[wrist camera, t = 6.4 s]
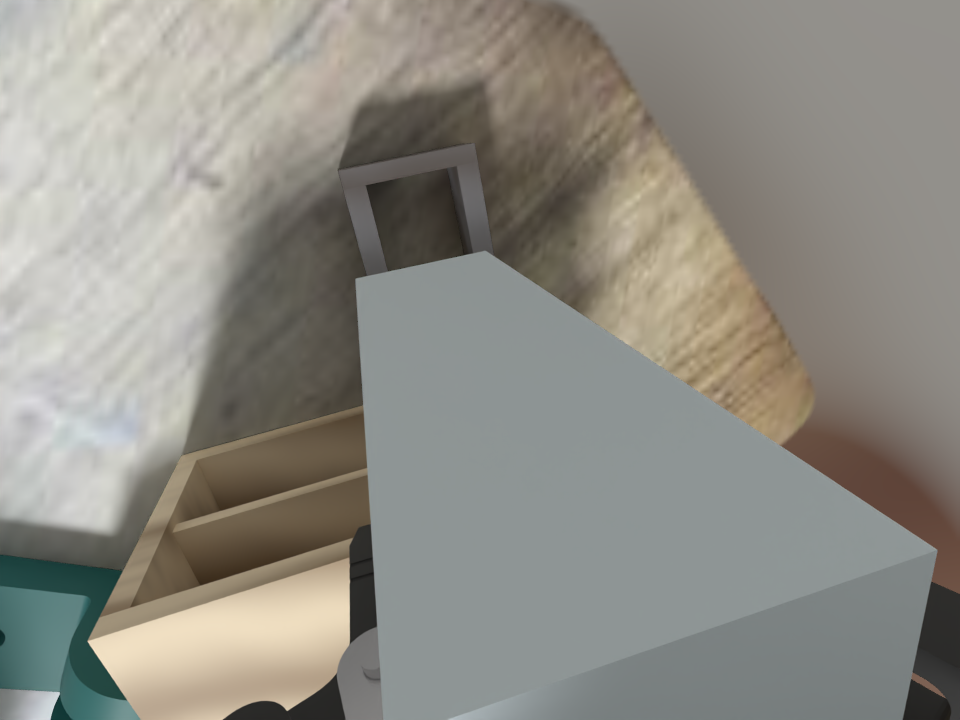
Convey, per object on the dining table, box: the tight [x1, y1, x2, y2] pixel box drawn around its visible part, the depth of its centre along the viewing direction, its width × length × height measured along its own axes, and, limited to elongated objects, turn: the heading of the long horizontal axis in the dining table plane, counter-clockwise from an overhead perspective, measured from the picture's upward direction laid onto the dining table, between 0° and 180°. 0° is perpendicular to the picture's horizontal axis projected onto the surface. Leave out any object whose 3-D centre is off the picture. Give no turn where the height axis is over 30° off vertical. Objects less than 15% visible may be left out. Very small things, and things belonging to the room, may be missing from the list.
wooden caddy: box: [87, 143, 494, 720], centre depth 24 cm, size 22×18×12 cm
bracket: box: [0, 555, 141, 720], centre depth 27 cm, size 18×7×8 cm, turn 66°
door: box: [355, 251, 937, 720], centre depth 10 cm, size 10×4×11 cm, turn 9°
